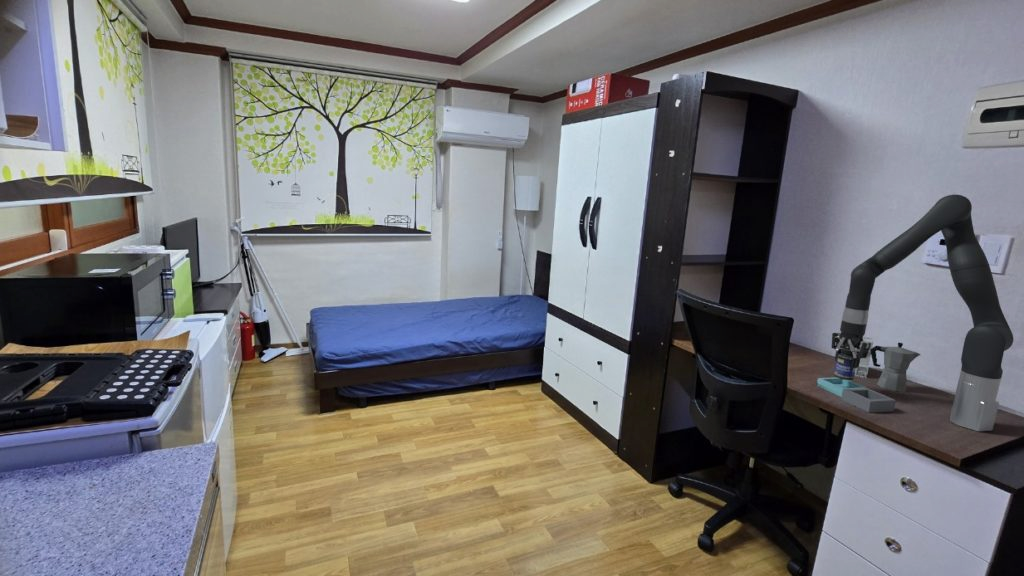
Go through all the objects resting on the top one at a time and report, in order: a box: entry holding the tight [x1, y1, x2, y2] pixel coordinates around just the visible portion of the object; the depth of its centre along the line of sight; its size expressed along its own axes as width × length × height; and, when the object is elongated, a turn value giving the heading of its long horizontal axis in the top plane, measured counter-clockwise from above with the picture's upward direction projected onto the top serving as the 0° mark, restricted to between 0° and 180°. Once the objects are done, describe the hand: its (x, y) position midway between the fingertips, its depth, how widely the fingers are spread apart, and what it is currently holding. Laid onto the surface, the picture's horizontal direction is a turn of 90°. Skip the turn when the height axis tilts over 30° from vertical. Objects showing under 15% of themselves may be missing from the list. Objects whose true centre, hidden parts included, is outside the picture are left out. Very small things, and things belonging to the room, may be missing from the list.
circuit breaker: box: [846, 336, 874, 379], centre depth 200 cm, size 8×14×15 cm, turn 146°
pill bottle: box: [833, 347, 857, 381], centre depth 176 cm, size 6×6×11 cm
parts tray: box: [816, 377, 867, 398], centre depth 178 cm, size 11×11×3 cm
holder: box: [840, 387, 897, 414], centre depth 165 cm, size 10×10×4 cm
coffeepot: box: [870, 342, 921, 393], centre depth 183 cm, size 15×9×18 cm, turn 67°
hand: (846, 364), depth 176 cm, fingers closed on pill bottle, 6 cm apart
